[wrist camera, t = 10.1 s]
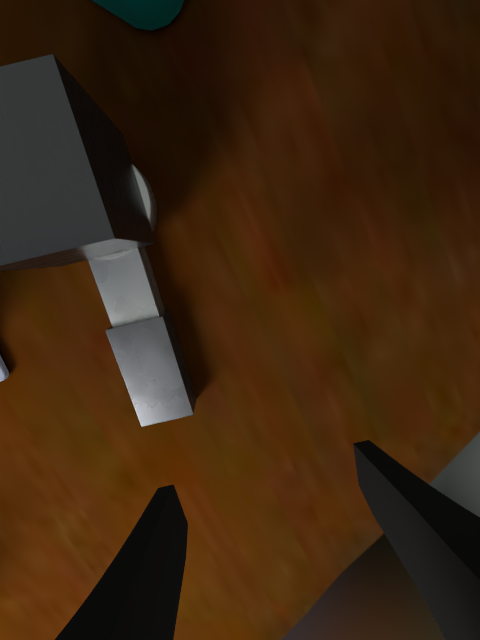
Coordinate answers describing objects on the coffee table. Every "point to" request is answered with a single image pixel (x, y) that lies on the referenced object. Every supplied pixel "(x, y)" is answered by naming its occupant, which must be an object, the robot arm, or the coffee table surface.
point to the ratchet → (144, 330)
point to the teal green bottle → (144, 12)
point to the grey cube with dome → (62, 173)
